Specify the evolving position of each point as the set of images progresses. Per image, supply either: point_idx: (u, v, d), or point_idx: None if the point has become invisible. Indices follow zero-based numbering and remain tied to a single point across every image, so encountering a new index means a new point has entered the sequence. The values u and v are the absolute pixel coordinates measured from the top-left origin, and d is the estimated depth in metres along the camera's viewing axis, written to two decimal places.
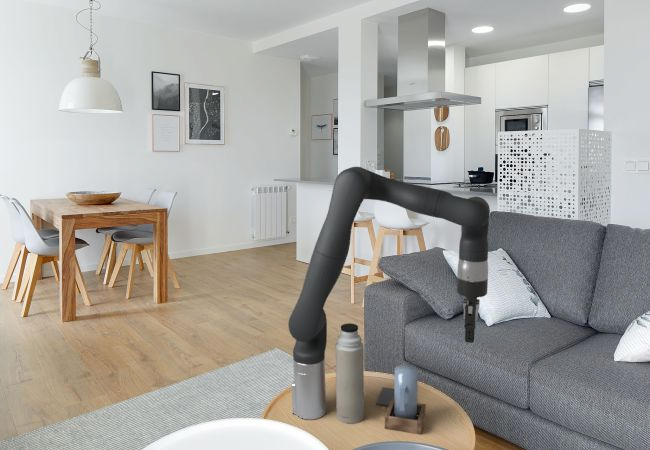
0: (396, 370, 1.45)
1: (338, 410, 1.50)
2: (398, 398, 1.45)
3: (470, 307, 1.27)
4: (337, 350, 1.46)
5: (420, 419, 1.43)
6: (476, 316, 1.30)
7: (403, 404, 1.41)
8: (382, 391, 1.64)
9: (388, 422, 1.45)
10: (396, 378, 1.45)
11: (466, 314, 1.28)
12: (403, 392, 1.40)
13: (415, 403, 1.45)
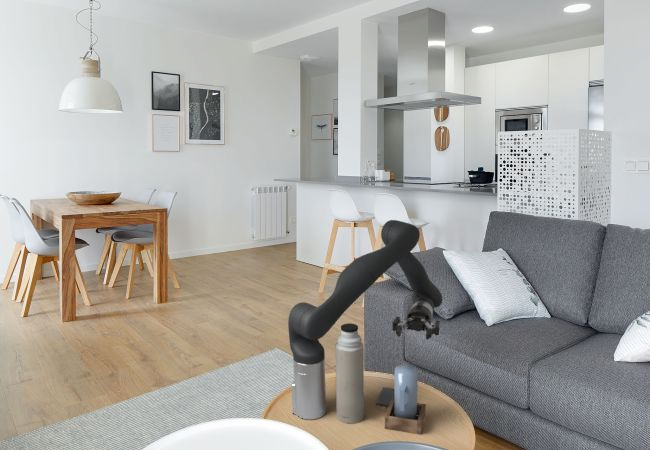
0: (396, 370, 1.45)
1: (338, 410, 1.50)
2: (398, 398, 1.45)
3: None
4: (337, 350, 1.46)
5: (420, 419, 1.43)
6: None
7: (403, 404, 1.41)
8: (382, 391, 1.64)
9: (388, 422, 1.45)
10: (396, 378, 1.45)
11: (439, 324, 1.60)
12: (403, 392, 1.40)
13: (415, 403, 1.45)
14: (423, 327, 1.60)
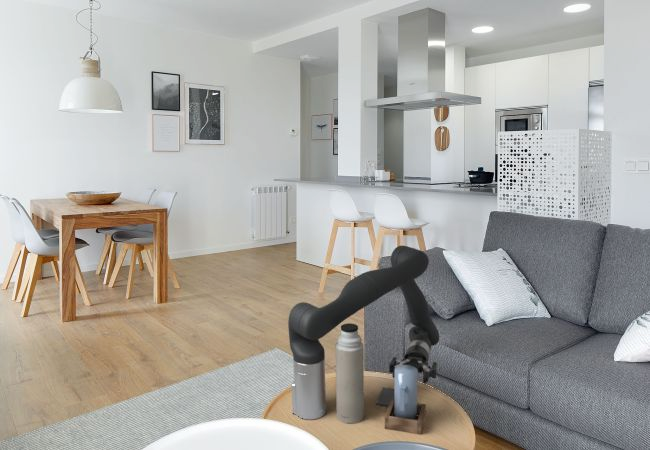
0: (396, 370, 1.45)
1: (338, 410, 1.50)
2: (398, 398, 1.45)
3: None
4: (337, 350, 1.46)
5: (420, 419, 1.43)
6: None
7: (403, 404, 1.41)
8: (382, 391, 1.64)
9: (388, 422, 1.45)
10: (396, 378, 1.45)
11: (436, 366, 1.59)
12: (403, 392, 1.40)
13: (415, 403, 1.45)
14: (420, 369, 1.59)
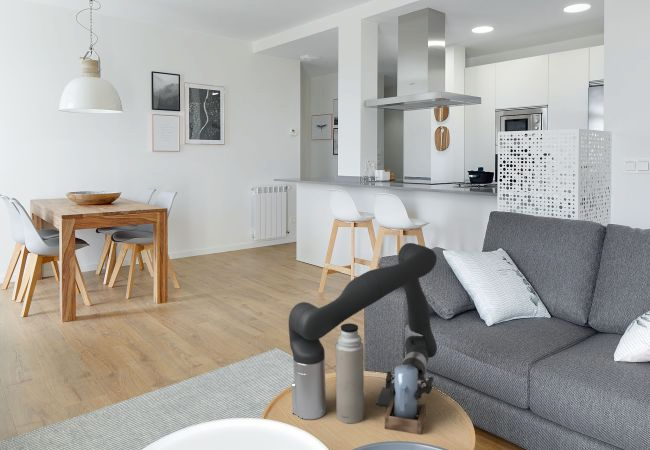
0: (396, 370, 1.45)
1: (338, 410, 1.50)
2: (398, 398, 1.45)
3: None
4: (337, 350, 1.46)
5: (420, 419, 1.43)
6: None
7: (403, 404, 1.41)
8: (382, 391, 1.64)
9: (388, 422, 1.45)
10: (396, 378, 1.45)
11: (432, 381, 1.50)
12: (403, 392, 1.40)
13: (415, 403, 1.45)
14: None
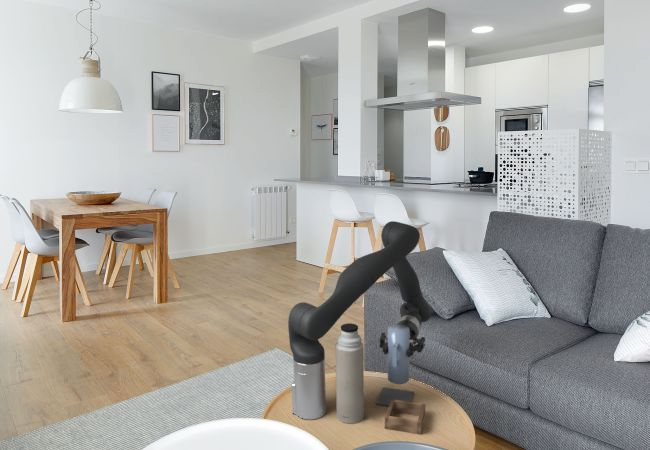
0: (389, 329, 1.53)
1: (338, 410, 1.50)
2: (390, 355, 1.53)
3: None
4: (337, 350, 1.46)
5: (420, 419, 1.43)
6: None
7: (395, 360, 1.49)
8: (382, 391, 1.64)
9: (388, 422, 1.45)
10: (389, 336, 1.52)
11: (423, 341, 1.57)
12: (395, 349, 1.48)
13: (407, 360, 1.53)
14: None
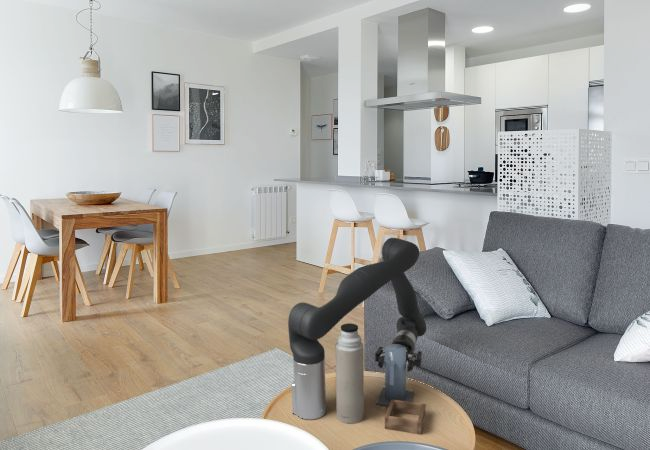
0: (386, 348, 1.58)
1: (338, 410, 1.50)
2: (388, 374, 1.57)
3: None
4: (337, 350, 1.46)
5: (420, 419, 1.43)
6: None
7: (392, 379, 1.53)
8: (382, 391, 1.64)
9: (388, 422, 1.45)
10: (386, 355, 1.57)
11: (421, 355, 1.62)
12: (392, 368, 1.53)
13: (404, 379, 1.58)
14: None
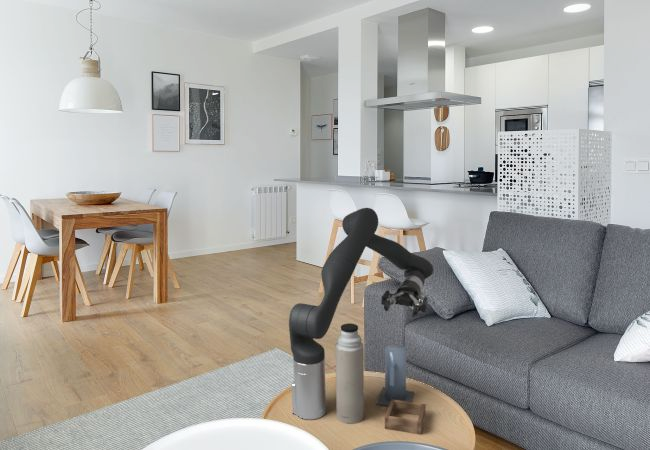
0: (386, 349, 1.58)
1: (338, 410, 1.50)
2: (388, 374, 1.57)
3: None
4: (337, 350, 1.46)
5: (420, 419, 1.43)
6: None
7: (392, 379, 1.53)
8: (382, 391, 1.64)
9: (388, 422, 1.45)
10: (386, 356, 1.57)
11: None
12: (392, 368, 1.53)
13: (404, 379, 1.58)
14: (411, 303, 1.65)
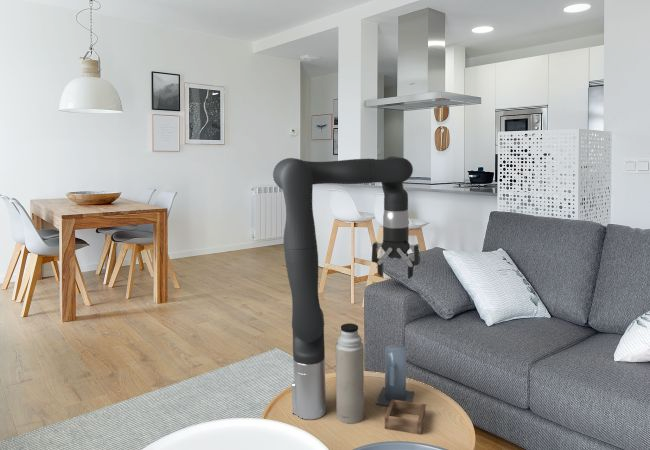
0: (386, 349, 1.58)
1: (338, 410, 1.50)
2: (388, 374, 1.57)
3: (418, 245, 1.53)
4: (337, 350, 1.46)
5: (420, 419, 1.43)
6: (408, 254, 1.56)
7: (393, 379, 1.53)
8: (382, 391, 1.64)
9: (388, 422, 1.45)
10: (386, 356, 1.57)
11: (418, 252, 1.53)
12: (392, 368, 1.53)
13: (404, 379, 1.58)
14: None
